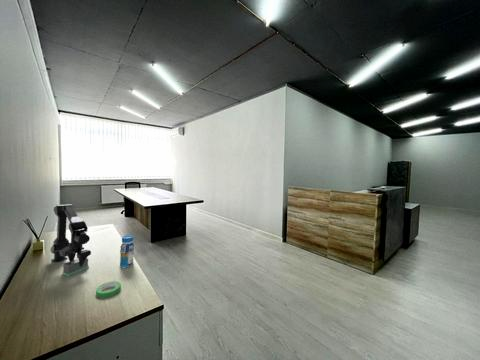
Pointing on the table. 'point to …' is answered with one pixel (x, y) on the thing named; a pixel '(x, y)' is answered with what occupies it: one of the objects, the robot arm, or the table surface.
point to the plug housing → (74, 266)
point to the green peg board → (74, 271)
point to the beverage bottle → (126, 252)
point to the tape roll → (108, 293)
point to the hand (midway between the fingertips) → (76, 264)
